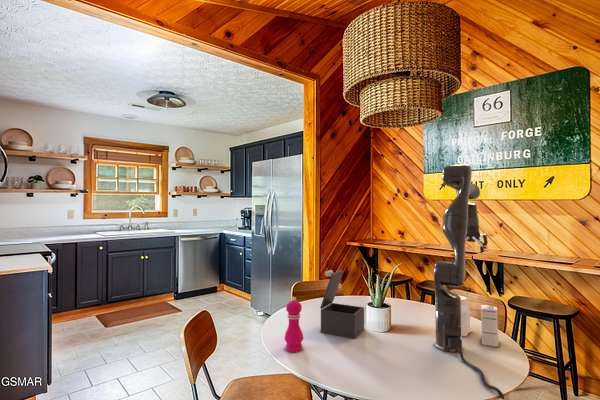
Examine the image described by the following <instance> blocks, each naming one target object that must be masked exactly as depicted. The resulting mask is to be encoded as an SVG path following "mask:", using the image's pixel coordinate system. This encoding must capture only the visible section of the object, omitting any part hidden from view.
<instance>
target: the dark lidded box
mask: <svg viewBox="0 0 600 400" xmlns="http://www.w3.org/2000/svg"><path fill="white" fill-rule="evenodd" d="M364 330H365V307H363V306H358V305H357V306H356V305H351V304H343V303H335V302H332V303H331V304H329V305H327V306H326V307H324V308H322V309H320V333H322V334H327V335H333V336H334V335H335V336H339V337H343V338H349V339H356V338H357V337H358V336H359V335H360V334H361V333H363V332H364Z"/></svg>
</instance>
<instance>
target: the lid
mask: <svg viewBox="0 0 600 400" xmlns="http://www.w3.org/2000/svg"><path fill="white" fill-rule="evenodd" d="M344 272H345V271H344V269H341V270H338V271H336V272H334V271H333V270H332V269H329V270H327V271H325V272H324V276H326V277H329V281H328V284H327V286H326V289H325V292H324V296H323V297H322V301H321V304H320V307H319V309H320V310H321V309H323V308H325V307H326V306H328V305H330V304H331V303H334V300H335V298H336V295H337V292H338V289H339V285H340V283H341V280H342V277H343V275H344Z"/></svg>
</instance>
